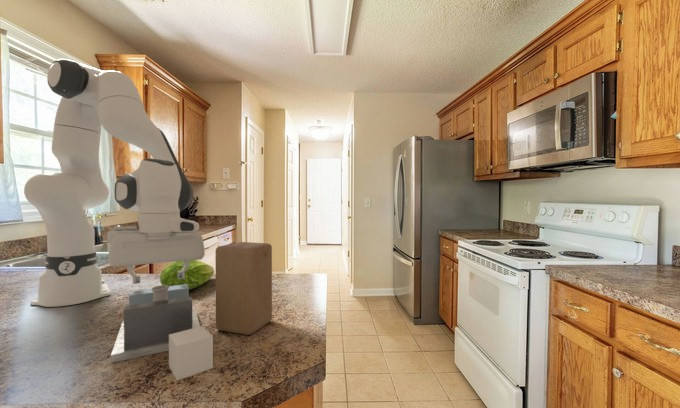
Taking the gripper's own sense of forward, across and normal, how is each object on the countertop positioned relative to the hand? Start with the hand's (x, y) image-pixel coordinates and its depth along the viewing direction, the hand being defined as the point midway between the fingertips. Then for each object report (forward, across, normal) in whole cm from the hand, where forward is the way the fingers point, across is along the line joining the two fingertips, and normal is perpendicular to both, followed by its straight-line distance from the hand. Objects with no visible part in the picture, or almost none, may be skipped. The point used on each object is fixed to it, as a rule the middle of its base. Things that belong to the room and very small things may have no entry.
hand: (159, 280), depth 75 cm
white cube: (+11, +5, -25) cm, 28 cm away
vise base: (+11, 0, -7) cm, 13 cm away
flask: (+10, 0, -8) cm, 13 cm away
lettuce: (+11, +10, +34) cm, 38 cm away
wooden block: (+11, +18, -11) cm, 24 cm away
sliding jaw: (+9, 0, -3) cm, 10 cm away
